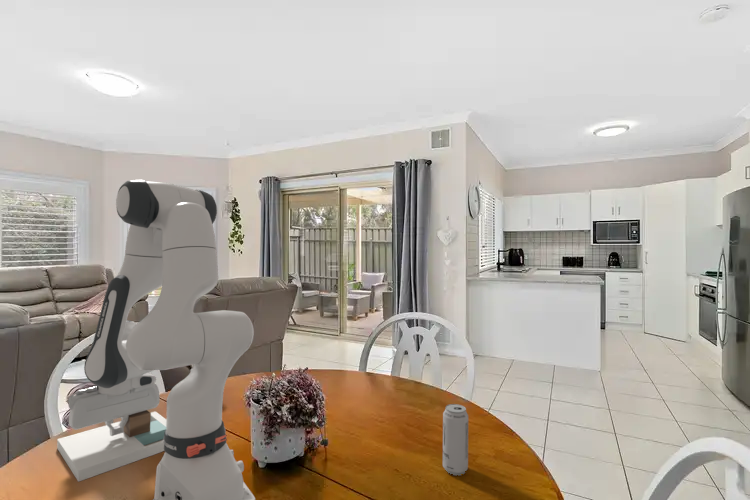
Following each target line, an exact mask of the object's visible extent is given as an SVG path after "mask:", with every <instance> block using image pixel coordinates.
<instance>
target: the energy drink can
mask: <svg viewBox="0 0 750 500" xmlns="http://www.w3.org/2000/svg"><path fill="white" fill-rule="evenodd" d="M442 467H443V469H444V470H446V471H447V472H448V474H449V473H450V474H449V475H451V474H453V475H452V476H457V475H458V476H462V475H461V474H463V475H464V474H465V473H466V472H465V471H467V470H469V414H468V413H467V408H466V407H465V406H464V405H462V404H458V403H457V404H456V403H451V404H447V405H446V406H445V409H444V411H443V412H442ZM446 471H445V472H446ZM447 472H446V473H447Z"/></svg>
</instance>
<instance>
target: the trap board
mask: <svg viewBox="0 0 750 500" xmlns="http://www.w3.org/2000/svg"><path fill="white" fill-rule="evenodd" d="M150 413H151V420H150V431H149V432H146V433H142V434H139V435H136V436H132V437H129V436H128V435H127V434H126V433H125V432H123V433H121V434H117V435H114V436H111V435H110V428H109V427H108V426H107V425H106V424H105V425H103V426H102V425H101V426H99V427H95V428H93V429H92V428H91V429H88V430H85V431H81V432H78V433H75V434H71V435H68V436H63V437H59V438H57V440H56V441H57V444H56V448H57V450H58V452H59V453H60V455H61V456H62V458H63V460H64V461H65V463H66V465H67V466H68V468H69V469H70V471H71V472H72V474H73V476H74V477H75V479H76V480H77V482H81V481H84V480H87V479H89V478H92V477H95V476H98V475H101V474H104V473H107V472H109V471H112V470H115V469H118V468H121V467H124V466H126V465H129V464H132V463H134V462H138V461H140V460H143V459H145V458H149V457H151V456H154V455H157V454H160V453H162V452H165V450H164V443H163V438H164V432H165V430H166V421H167V418H165V417H164V416H162V415H161V414H160V413H158V412H157V411H151V412H150ZM120 422H121V420H120V421H116V422H113V423H112V424H111V425H112V426H113V427H115V426H118V425H119V424H120Z"/></svg>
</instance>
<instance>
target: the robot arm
mask: <svg viewBox="0 0 750 500" xmlns="http://www.w3.org/2000/svg"><path fill="white" fill-rule="evenodd" d="M115 201H116V202H115V205H116V212H117V215H118V217H119V218H120V219H121V220H122V221H123V222H124V223H126V224H127V225H128V224H129V228H128V233H127V236H126V242H125V251H124V258H123V261H122V264H121V265H122V266H121V267H120V270H119V272H118V274H116V276H115V277H114V278H113V279H111V281H110V282H109V284H108V286H107V288H106V292H105V294H104V298H103V301H102V306H101V309H100V313H99V318H98V320H97V321H98V322H97V326H96V329H95V334H94V338H93V342H92V344H91V347H90V349H89V351H88V353H87V356H86V358H85V361H84V367H83V368H84V375H85V377H86V378H87V380H88V381H89V382H90V383H92V384H93V385H94V386H93V387H88V388H85V389H79V390H76V391H75V392H73V393H72V394H71V395H70V396H69V398H68V401H67V402H68V408H69V415H68V425H69V427H70V428H71V429H73V430H75V431H77V430H80V429H84V428H88V427H91V426H95V425H98V424H102V423H104V424H105V425H107V426H108V427H109V428H110V435H111V436H114V435H117V434H121V433H123V432H124V426H125V424H126V422H127V421H128V419H129V415H131V414H135V413H138V412H142V411H145V410H147V411H149V410H152V409H156V408H157V407H158V406H159V404H160V402H161V401H160V391H159V390H160V389H159V386H158V385H157V383H156V381H157V377H156V375H154V374H153V373H152V372H153V371H166V370H171V369H176V368H183V367H187V366H192V365H193V367H192V368H193V369H192V368H191V369H192V371H191V370H190V371H191V373H189V374H188V375H187V376H186V377H185V378H184V379H182V380H180V381H179V382H178V383H176V384H175V385H174V386H173V387H172V388H171V390H170V391H169V393H168V394H167V395H168V396H167V398H166V419H167V421H166V430H165V432H164V438H163V439H162V440H163V443H164V450H165V451H164V454H163V456H162V457H161V460H160V461H159V463H158V464H157V466H156V472H155V483H154V485H155V486H154V498H153V499H152V500H256V497H255V495H254V494H253V492H252V491H251V489H249V487H248V486H247V484H246V483H245V482H244V477H243V474H242V473H243V472H244V470H245V465H244V462H243V460H238V461H237V460H236V459H235V455H234V454H235V453H234V449H230V448H229V446H228V444H227V439H228V438H227V436H228V435H227V434H226V430H227V429H226V427H225V424H224V421H223V400H224V391H225V386H226V382H227V380H228V377H229V374H230V372H231V371H232V369H233V368H234V366H235V364H236V363H237V361H238V360H239V358H241V357H242V355H244V354H245V352H247V351H248V350H249V348H250V347H251V345H252V343H253V341H254V334H255V329H254V324H253V322H252V320H251V319H250V317H249V316H248V315H247V314H246V313H245V312H244V311H239V310H237V311H236V310H229V309H228V310H225V309H222V310H211V311H201V312H194V307H195V305H196V302H197V300H198V299H200V298H201V297H204V296H205V295H207V294H208V293H209V292H212V291H213V290H214V289H215V287H216V286H217V284H218V281H219V269H218V256H217V252H218V251H217V245H216V244H217V241H216V236H215V231H214V230H215V229H214V225H213V224H214V223H215V220H216V218H217V214H218V207H217V203H216V200H215V198H214V197H213V196H212V195H211V194H210V193H208V192H206V191H203V190H202V189H201V190H200V189H193V188H189V187H185V186H181V185H177V184H173V183H170V182H169V183H168V182H161V181H160V182H159V181H146V180H144V179H135V180H134V179H133V180H127V181H125V182H124V183H123V184H122V185H121V186H120V187H119V189H118V191H117V195H116V199H115ZM160 288H161V290H160V293H159V296H158V299H157V301H156V303H155V304H154V306H153V307H152V309H150V311H149V312H148V314H146V316H145V317H143V318H142V319H141V320H139V322H138V323H136V322H135V321H133V320H128V318H129V317H128V316H129V314H130V311H131V309H132V308H133V307H134V305H135V304H136V303H137V302H138V301H140V300H141V299H142V298H144V297H146V296H147V295H148V294H150V293H152V292H155V291H156V290H158V289H160ZM119 418H120V419H121V420H120V421H121V422H120V421H119V422H120V424H119V425H118V426H115V427H113V426H112V425H111V424H113V423H114V420H117V419H119Z"/></svg>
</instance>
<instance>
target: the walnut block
mask: <svg viewBox="0 0 750 500" xmlns="http://www.w3.org/2000/svg"><path fill="white" fill-rule="evenodd" d="M151 413H152V412H150V411H149V410H145V411H142V412H138V413H135V414H131V415H129V419H128V421H127V422H126V424H125V426H124V432H125V433H126V434H127V435H128V436H129V437H132V436H136V435H139V434H142V433H146V432H149V431H150V420H151Z"/></svg>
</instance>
